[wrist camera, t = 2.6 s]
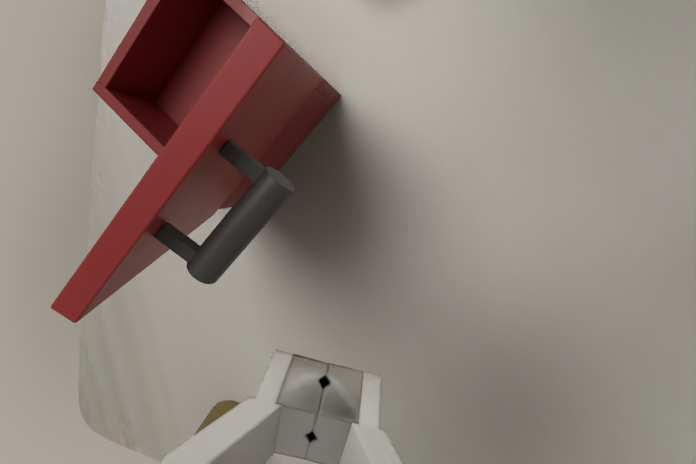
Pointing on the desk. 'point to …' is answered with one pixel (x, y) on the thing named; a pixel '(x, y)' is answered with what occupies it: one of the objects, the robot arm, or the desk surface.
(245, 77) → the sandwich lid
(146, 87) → the red open box
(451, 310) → the desk surface
